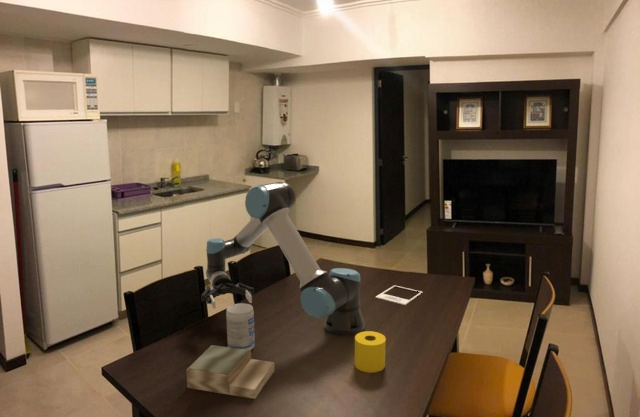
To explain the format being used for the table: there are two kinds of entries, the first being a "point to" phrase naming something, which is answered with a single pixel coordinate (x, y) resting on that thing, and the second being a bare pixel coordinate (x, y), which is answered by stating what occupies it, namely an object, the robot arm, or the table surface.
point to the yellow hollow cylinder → (370, 351)
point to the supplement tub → (240, 326)
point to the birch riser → (229, 372)
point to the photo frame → (396, 299)
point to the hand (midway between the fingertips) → (232, 302)
